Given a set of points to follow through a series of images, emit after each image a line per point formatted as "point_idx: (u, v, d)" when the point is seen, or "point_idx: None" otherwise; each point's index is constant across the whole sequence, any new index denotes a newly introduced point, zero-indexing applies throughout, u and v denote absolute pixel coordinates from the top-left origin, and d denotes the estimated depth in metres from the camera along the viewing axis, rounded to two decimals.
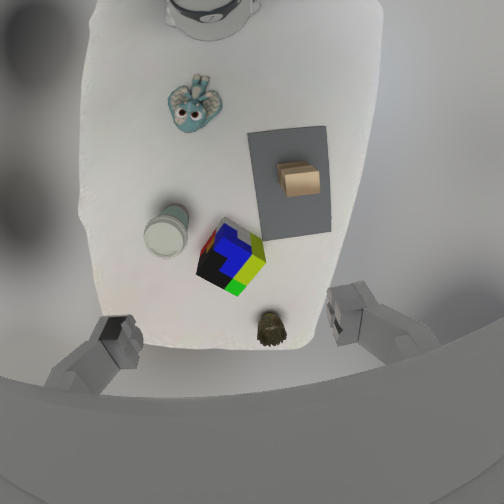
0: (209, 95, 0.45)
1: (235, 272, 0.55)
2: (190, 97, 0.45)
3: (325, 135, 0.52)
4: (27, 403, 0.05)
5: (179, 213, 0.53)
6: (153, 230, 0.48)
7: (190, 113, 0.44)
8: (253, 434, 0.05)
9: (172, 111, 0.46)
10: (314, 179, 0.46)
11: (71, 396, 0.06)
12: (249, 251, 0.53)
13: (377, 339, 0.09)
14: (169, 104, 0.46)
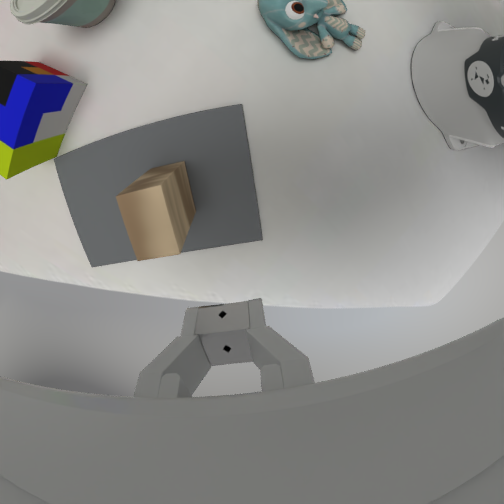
0: (327, 41, 0.21)
1: None
2: (326, 13, 0.19)
3: (245, 240, 0.33)
4: (27, 403, 0.05)
5: (91, 2, 0.14)
6: None
7: (301, 2, 0.16)
8: (253, 434, 0.05)
9: None
10: (161, 247, 0.22)
11: (71, 396, 0.06)
12: (18, 142, 0.17)
13: (263, 362, 0.09)
14: None
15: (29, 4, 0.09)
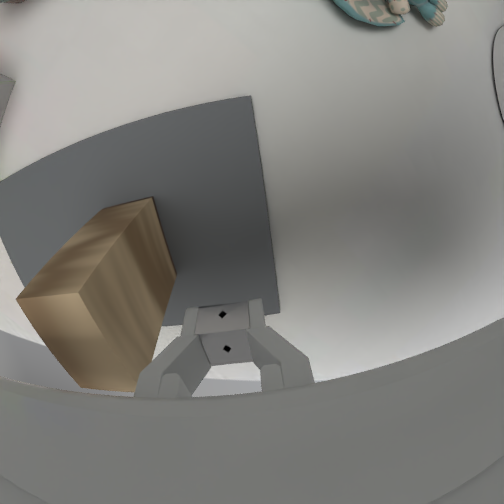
0: (400, 2, 0.09)
1: None
2: None
3: None
4: (27, 403, 0.05)
5: None
6: None
7: None
8: (253, 434, 0.05)
9: None
10: (110, 380, 0.11)
11: (71, 396, 0.06)
12: None
13: (263, 362, 0.09)
14: None
15: None
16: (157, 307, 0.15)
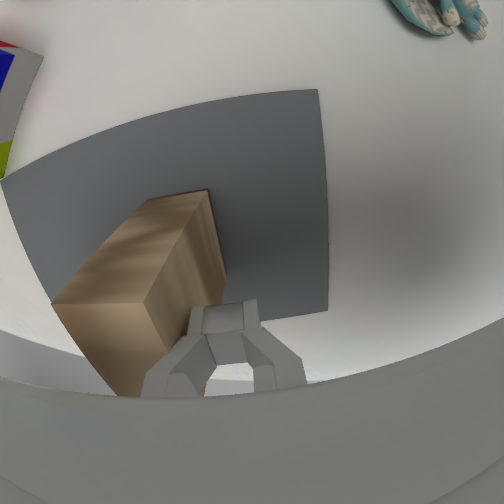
0: (453, 15, 0.08)
1: None
2: None
3: (303, 312, 0.21)
4: (27, 403, 0.05)
5: None
6: None
7: None
8: (253, 434, 0.05)
9: None
10: None
11: (71, 396, 0.06)
12: None
13: (257, 363, 0.09)
14: None
15: None
16: None
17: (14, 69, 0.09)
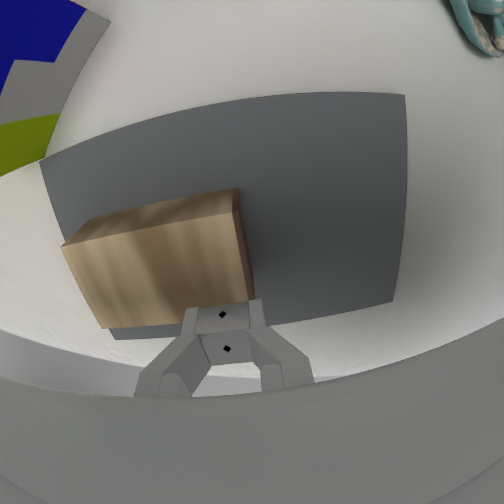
0: None
1: None
2: None
3: (372, 303, 0.21)
4: (27, 403, 0.05)
5: None
6: None
7: None
8: (253, 434, 0.05)
9: None
10: None
11: (71, 396, 0.06)
12: None
13: (263, 362, 0.09)
14: None
15: None
16: (168, 311, 0.15)
17: (81, 26, 0.08)
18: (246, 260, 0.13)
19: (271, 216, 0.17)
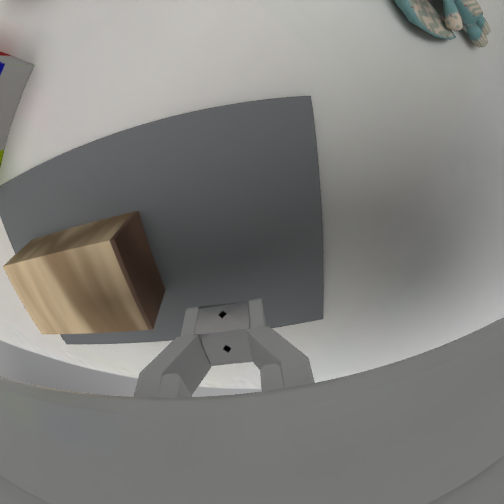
0: (456, 20, 0.08)
1: None
2: None
3: (298, 321, 0.21)
4: (27, 403, 0.05)
5: None
6: None
7: None
8: (253, 434, 0.05)
9: None
10: None
11: (71, 396, 0.06)
12: None
13: (263, 362, 0.09)
14: None
15: None
16: (83, 322, 0.15)
17: (4, 78, 0.08)
18: (131, 281, 0.14)
19: (171, 236, 0.17)
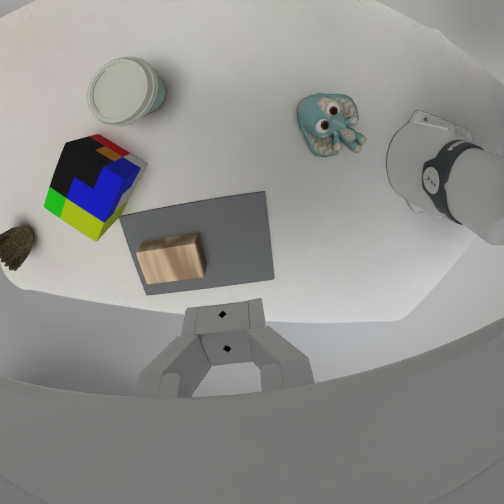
0: (337, 147, 0.37)
1: (75, 201, 0.30)
2: None
3: (263, 279, 0.49)
4: (27, 403, 0.05)
5: (155, 106, 0.30)
6: (135, 73, 0.22)
7: (328, 120, 0.32)
8: (253, 434, 0.05)
9: (333, 96, 0.33)
10: None
11: (71, 396, 0.06)
12: (107, 217, 0.32)
13: (263, 362, 0.09)
14: (343, 96, 0.34)
15: (111, 112, 0.24)
16: (174, 275, 0.43)
17: (139, 173, 0.36)
18: (200, 258, 0.42)
19: (212, 242, 0.45)
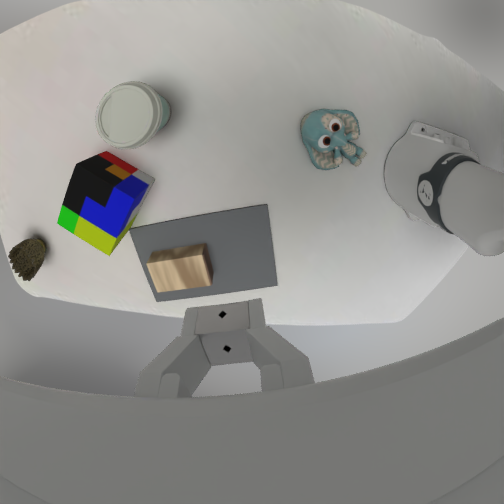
0: (337, 161, 0.39)
1: (87, 218, 0.33)
2: None
3: (266, 286, 0.52)
4: (27, 403, 0.05)
5: (161, 126, 0.32)
6: (140, 99, 0.25)
7: (330, 137, 0.34)
8: (253, 434, 0.05)
9: (336, 112, 0.35)
10: None
11: (71, 396, 0.06)
12: (119, 233, 0.35)
13: (263, 362, 0.09)
14: (345, 111, 0.36)
15: (119, 136, 0.27)
16: (183, 284, 0.46)
17: (147, 189, 0.39)
18: (207, 268, 0.45)
19: (218, 252, 0.48)
